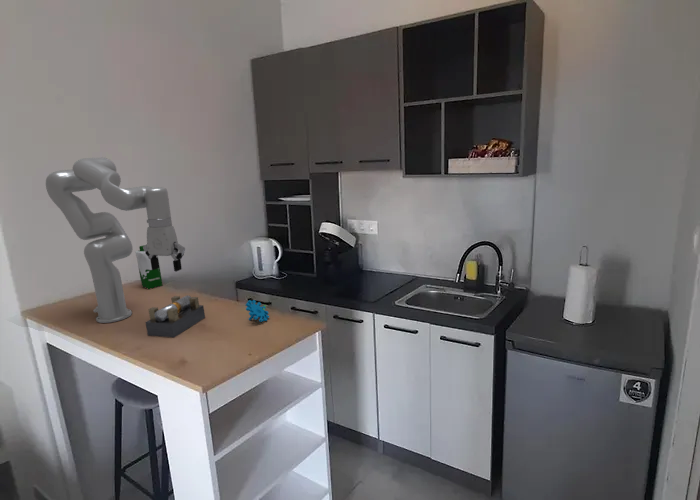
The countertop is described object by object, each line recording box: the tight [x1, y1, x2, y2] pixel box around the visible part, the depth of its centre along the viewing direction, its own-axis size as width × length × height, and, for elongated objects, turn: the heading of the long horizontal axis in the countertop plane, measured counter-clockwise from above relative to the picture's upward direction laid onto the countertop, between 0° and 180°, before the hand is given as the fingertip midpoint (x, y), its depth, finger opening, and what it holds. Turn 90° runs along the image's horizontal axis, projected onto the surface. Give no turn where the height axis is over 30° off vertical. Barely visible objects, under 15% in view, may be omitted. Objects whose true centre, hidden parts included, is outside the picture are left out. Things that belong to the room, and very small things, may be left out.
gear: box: [245, 299, 270, 323], centre depth 161 cm, size 11×6×10 cm
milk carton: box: [134, 244, 164, 290], centre depth 211 cm, size 9×9×20 cm
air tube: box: [155, 295, 192, 322], centre depth 159 cm, size 16×4×4 cm, turn 163°
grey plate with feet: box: [145, 295, 206, 338], centre depth 159 cm, size 11×18×9 cm, turn 163°
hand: (166, 269), depth 157 cm, fingers open, 9 cm apart
